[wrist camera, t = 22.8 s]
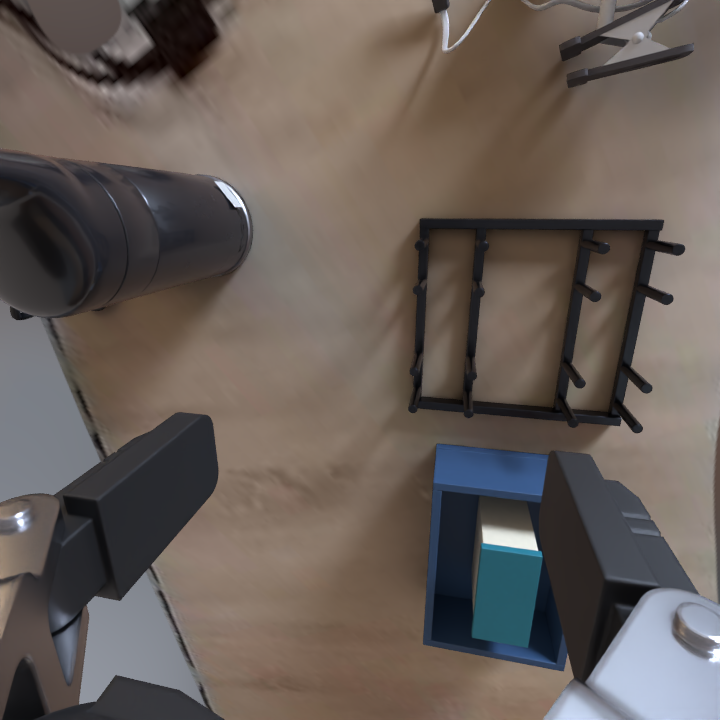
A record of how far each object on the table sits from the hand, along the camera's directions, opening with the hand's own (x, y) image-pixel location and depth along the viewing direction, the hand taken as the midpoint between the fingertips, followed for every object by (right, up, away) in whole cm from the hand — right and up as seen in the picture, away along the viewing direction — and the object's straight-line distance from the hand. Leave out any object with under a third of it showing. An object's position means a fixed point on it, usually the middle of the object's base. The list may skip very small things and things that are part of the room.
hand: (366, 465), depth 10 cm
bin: (+14, -16, +37) cm, 43 cm away
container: (+14, -16, +36) cm, 42 cm away
